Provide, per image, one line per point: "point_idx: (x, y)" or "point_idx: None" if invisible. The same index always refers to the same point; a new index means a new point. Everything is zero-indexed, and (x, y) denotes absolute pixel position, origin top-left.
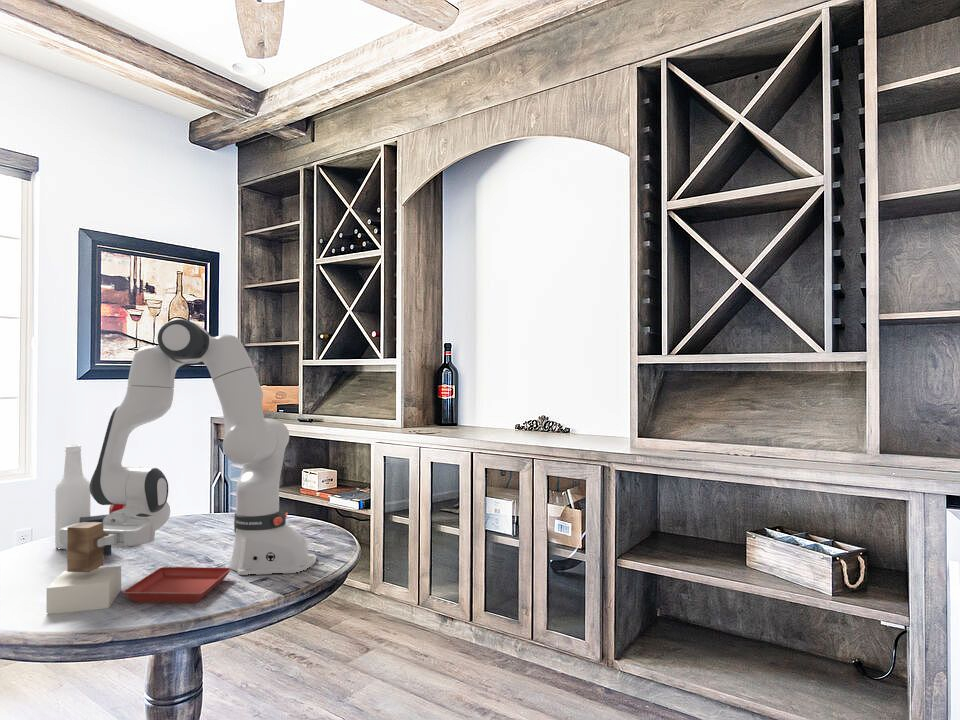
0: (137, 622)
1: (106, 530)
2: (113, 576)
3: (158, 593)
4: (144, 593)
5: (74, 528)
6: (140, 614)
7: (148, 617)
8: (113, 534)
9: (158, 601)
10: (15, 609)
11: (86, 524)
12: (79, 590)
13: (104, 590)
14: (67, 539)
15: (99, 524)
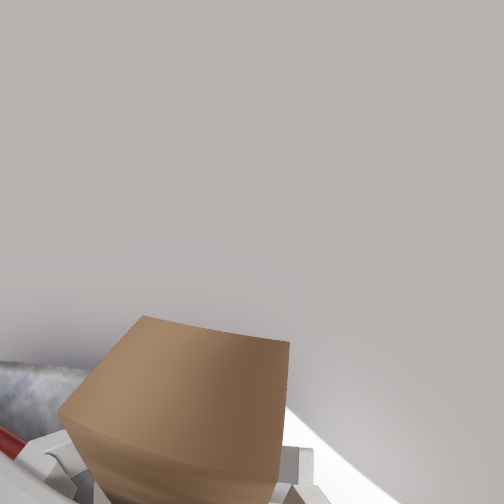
0: (56, 386)
1: (69, 501)
2: (94, 494)
3: (2, 428)
4: (27, 442)
5: (237, 339)
6: (48, 416)
7: (37, 398)
8: (31, 454)
9: (11, 457)
10: (368, 494)
11: (187, 389)
12: None
13: None
14: (311, 448)
15: (86, 384)
